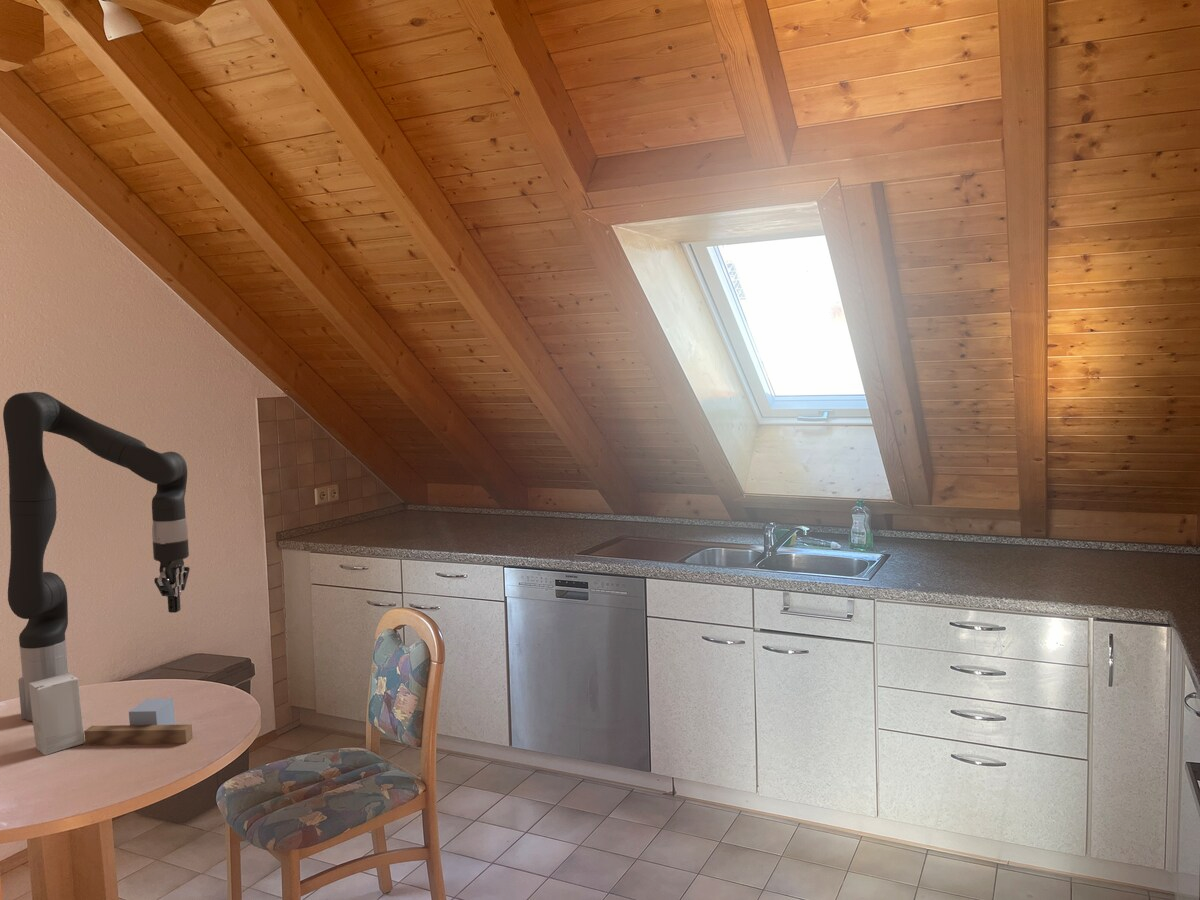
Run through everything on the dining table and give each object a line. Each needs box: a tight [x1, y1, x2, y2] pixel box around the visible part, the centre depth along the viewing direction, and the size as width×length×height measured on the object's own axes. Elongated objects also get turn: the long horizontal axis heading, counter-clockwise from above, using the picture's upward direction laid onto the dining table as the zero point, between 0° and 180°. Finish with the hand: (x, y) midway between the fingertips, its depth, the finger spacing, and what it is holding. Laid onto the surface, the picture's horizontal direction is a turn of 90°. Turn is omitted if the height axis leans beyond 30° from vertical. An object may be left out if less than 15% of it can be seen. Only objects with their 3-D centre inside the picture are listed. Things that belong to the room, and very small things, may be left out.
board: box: [83, 723, 194, 746], centre depth 207 cm, size 22×3×3 cm, turn 88°
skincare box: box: [29, 672, 85, 756], centre depth 205 cm, size 8×6×15 cm
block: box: [128, 697, 176, 725], centre depth 213 cm, size 6×8×6 cm
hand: (174, 611), depth 225 cm, fingers closed
